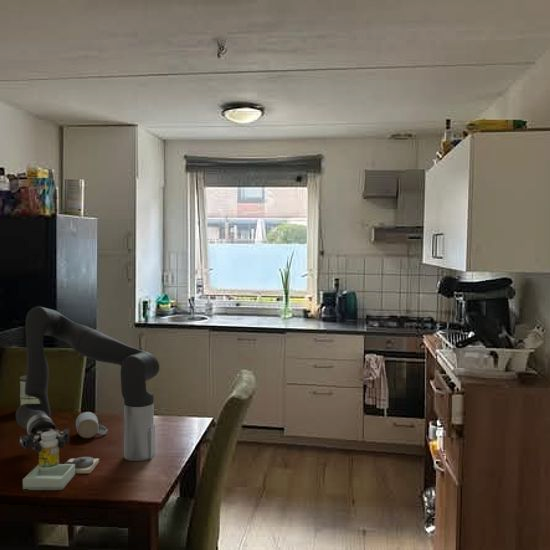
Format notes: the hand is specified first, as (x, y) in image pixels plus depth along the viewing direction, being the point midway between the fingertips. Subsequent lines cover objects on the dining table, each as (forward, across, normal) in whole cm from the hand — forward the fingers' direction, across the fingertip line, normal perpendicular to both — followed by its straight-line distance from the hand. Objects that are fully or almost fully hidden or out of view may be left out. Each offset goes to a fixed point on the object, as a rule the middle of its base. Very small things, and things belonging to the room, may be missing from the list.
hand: (50, 446), depth 153 cm
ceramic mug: (-37, +20, +12) cm, 44 cm away
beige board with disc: (-9, +10, +11) cm, 17 cm away
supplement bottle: (-3, 0, +7) cm, 7 cm away
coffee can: (-81, +6, +12) cm, 82 cm away
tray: (-2, 0, +11) cm, 11 cm away
